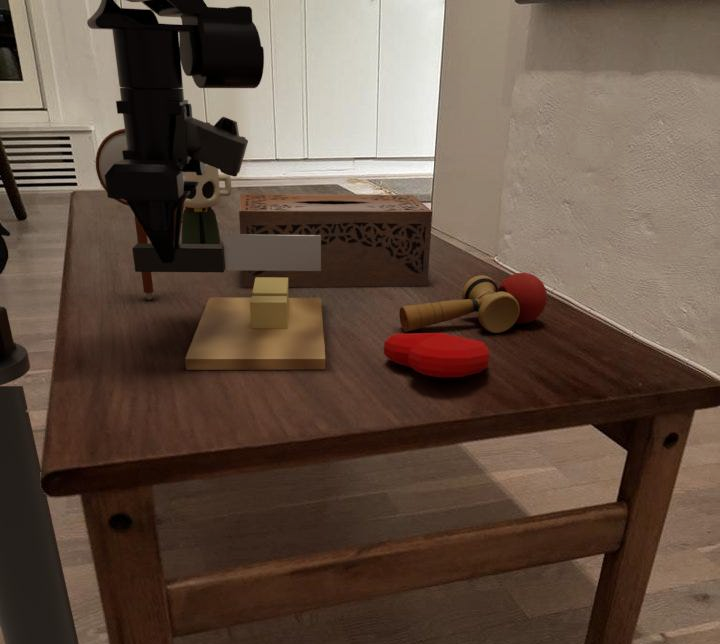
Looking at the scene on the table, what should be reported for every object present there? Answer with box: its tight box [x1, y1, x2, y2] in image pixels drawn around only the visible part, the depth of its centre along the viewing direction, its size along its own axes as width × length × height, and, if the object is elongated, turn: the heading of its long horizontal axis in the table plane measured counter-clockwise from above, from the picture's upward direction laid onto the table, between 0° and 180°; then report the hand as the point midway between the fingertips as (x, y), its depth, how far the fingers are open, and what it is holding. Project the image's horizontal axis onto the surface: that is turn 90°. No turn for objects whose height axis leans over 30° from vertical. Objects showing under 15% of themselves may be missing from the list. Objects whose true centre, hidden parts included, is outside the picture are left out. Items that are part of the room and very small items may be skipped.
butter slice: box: [250, 295, 288, 329], centre depth 82 cm, size 4×2×3 cm, turn 94°
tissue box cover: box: [238, 193, 433, 289], centre depth 106 cm, size 26×14×10 cm, turn 97°
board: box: [184, 296, 327, 371], centre depth 84 cm, size 14×22×1 cm, turn 4°
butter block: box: [251, 277, 290, 309], centre depth 88 cm, size 4×7×3 cm, turn 4°
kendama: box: [398, 272, 548, 334], centre depth 87 cm, size 8×6×18 cm
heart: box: [383, 332, 490, 378], centre depth 74 cm, size 12×4×10 cm
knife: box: [131, 233, 321, 273], centre depth 76 cm, size 19×2×4 cm, turn 93°
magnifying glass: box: [95, 128, 154, 301], centre depth 90 cm, size 9×2×20 cm, turn 99°
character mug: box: [181, 164, 232, 244], centre depth 119 cm, size 11×7×13 cm, turn 106°
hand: (169, 259), depth 76 cm, fingers closed on knife, 2 cm apart
